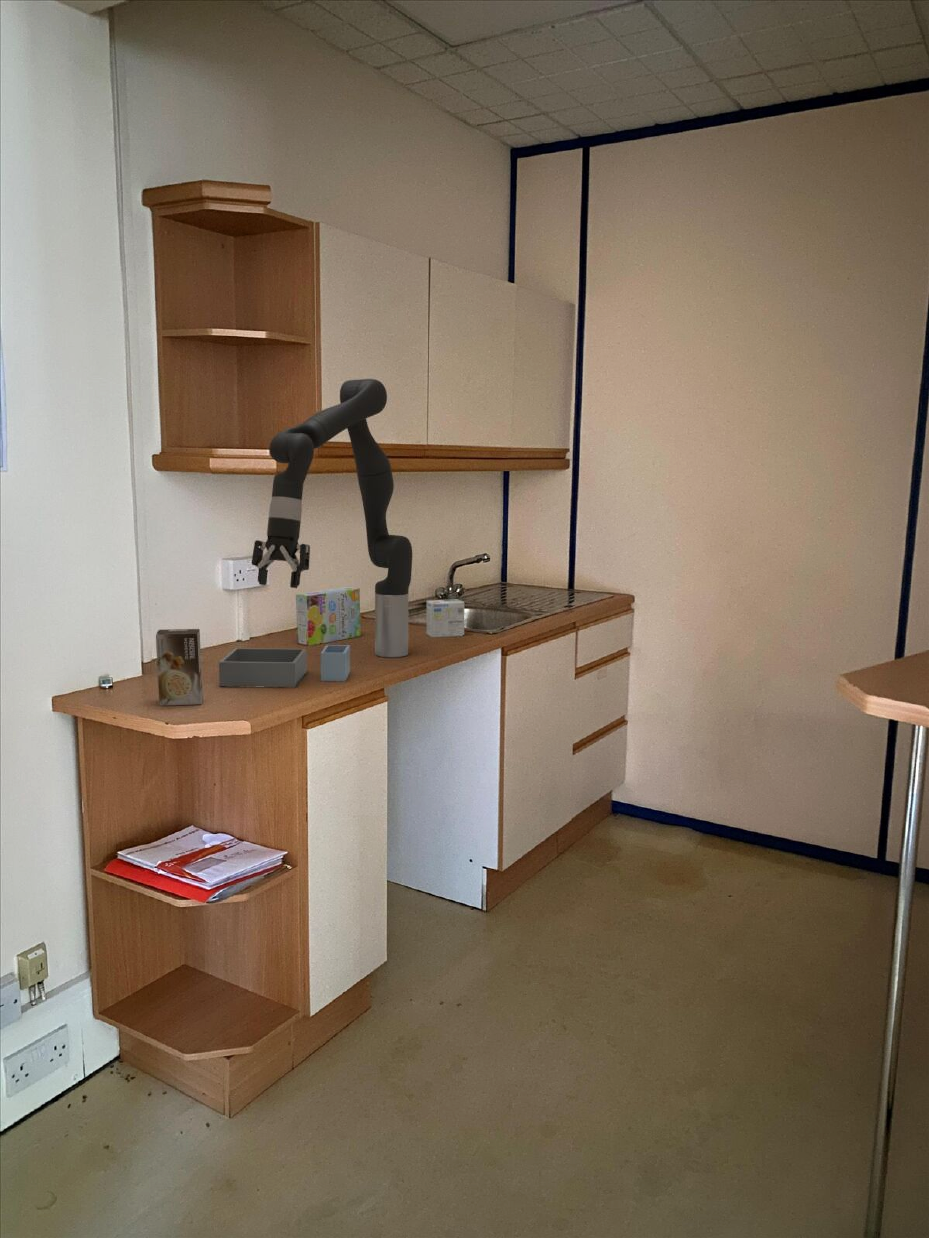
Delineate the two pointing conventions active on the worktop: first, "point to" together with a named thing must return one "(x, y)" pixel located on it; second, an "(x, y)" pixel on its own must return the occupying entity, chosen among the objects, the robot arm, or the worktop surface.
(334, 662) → the blue open bin
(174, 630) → the coffee box
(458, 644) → the worktop surface
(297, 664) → the charcoal crate
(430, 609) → the light bulb box
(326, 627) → the snack box
